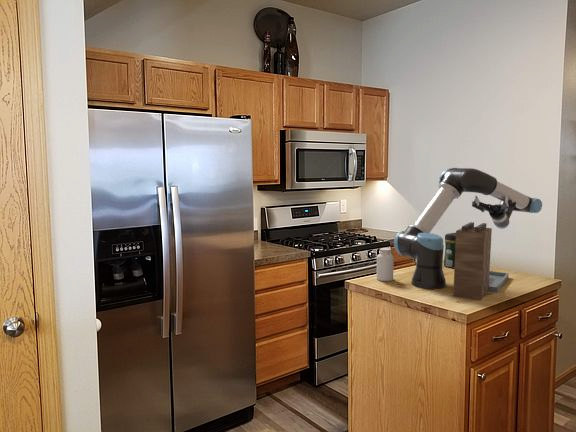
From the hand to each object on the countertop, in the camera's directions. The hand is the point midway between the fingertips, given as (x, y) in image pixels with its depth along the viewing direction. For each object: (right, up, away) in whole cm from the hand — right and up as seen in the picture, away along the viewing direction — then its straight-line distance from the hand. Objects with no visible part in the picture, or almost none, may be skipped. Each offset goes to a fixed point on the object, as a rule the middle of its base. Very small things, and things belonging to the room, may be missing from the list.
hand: (490, 198), depth 223 cm
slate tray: (-6, -40, -5) cm, 41 cm away
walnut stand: (-20, -42, -25) cm, 53 cm away
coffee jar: (-9, -36, +26) cm, 46 cm away
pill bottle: (-52, -39, -1) cm, 65 cm away
